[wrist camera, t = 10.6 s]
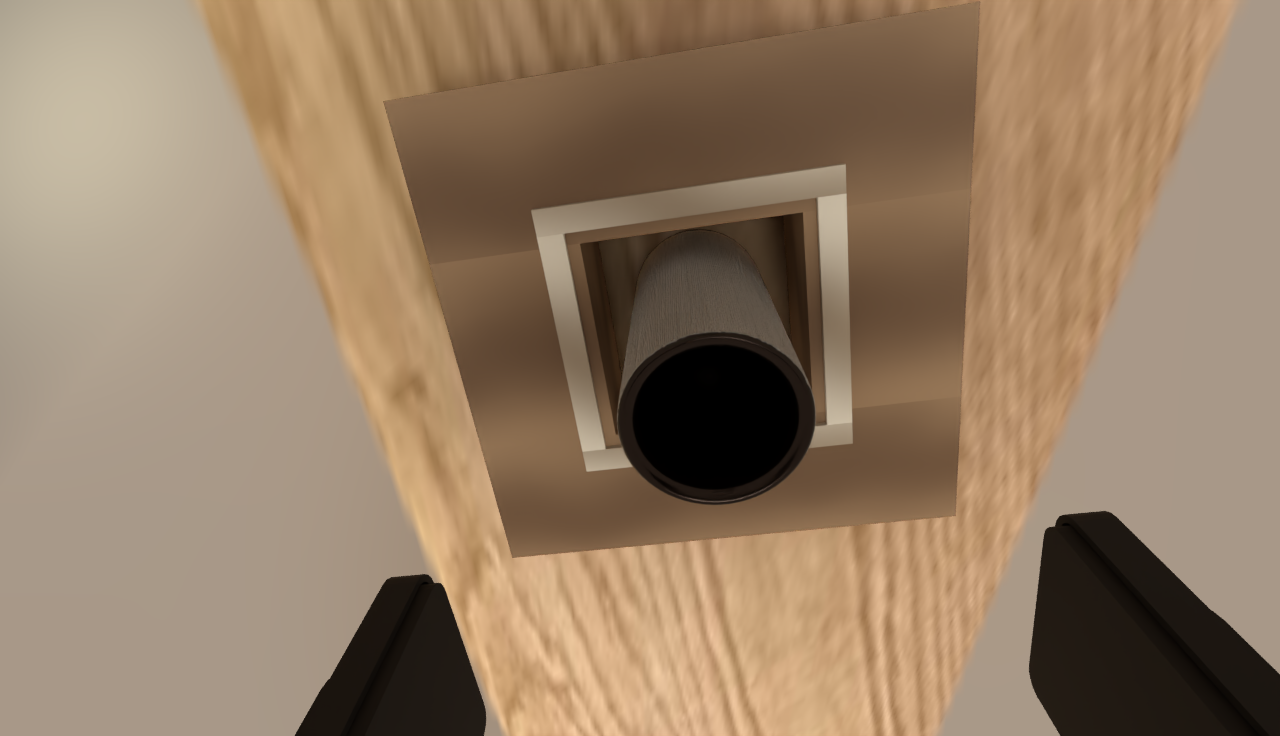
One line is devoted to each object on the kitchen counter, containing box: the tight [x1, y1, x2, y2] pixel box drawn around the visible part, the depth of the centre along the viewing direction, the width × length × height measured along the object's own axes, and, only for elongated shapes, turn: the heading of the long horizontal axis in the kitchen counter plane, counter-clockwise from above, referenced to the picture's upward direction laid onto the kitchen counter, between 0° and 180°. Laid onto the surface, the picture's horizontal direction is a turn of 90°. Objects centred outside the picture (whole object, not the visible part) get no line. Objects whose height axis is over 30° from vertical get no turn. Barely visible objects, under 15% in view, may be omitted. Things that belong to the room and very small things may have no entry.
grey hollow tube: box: [617, 230, 816, 505], centre depth 20 cm, size 4×4×10 cm
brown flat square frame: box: [383, 2, 980, 558], centre depth 23 cm, size 16×16×4 cm
